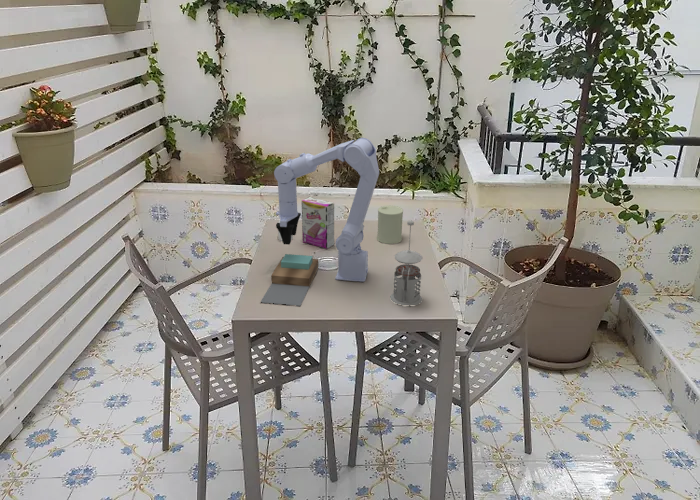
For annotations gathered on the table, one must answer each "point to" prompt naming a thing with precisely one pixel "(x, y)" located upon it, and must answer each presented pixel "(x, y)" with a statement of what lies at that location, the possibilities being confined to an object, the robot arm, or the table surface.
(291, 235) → the white domed cylinder
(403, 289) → the french press
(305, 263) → the teal rectangular block
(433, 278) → the table surface
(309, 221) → the candy bar box
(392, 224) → the can
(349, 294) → the table surface
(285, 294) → the mat
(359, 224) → the robot arm
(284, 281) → the deck
